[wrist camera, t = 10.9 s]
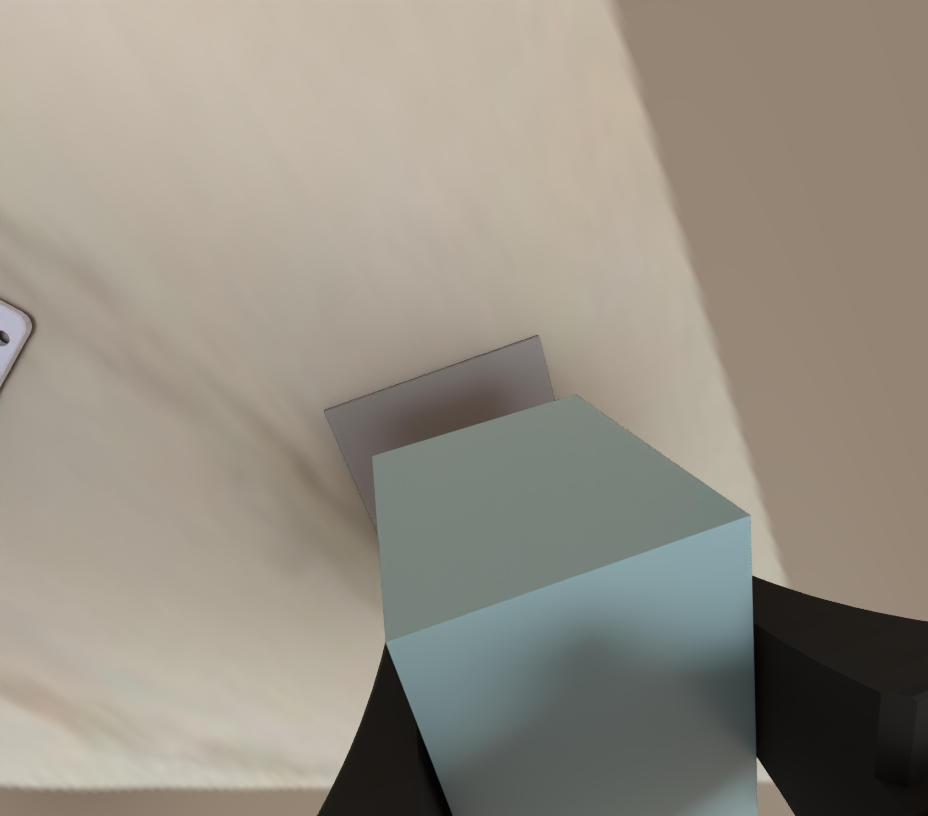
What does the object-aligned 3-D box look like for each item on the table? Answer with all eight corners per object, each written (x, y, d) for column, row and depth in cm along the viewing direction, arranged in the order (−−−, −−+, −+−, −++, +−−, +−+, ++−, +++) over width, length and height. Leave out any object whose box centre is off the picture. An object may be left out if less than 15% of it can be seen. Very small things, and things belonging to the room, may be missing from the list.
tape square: (582, 515, 23) (584, 517, 23) (401, 586, 22) (401, 589, 22) (537, 335, 20) (538, 336, 20) (324, 410, 19) (324, 411, 19)
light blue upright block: (612, 625, 17) (758, 842, 11) (449, 684, 16) (505, 951, 10) (575, 394, 14) (750, 515, 8) (372, 456, 13) (385, 643, 7)
